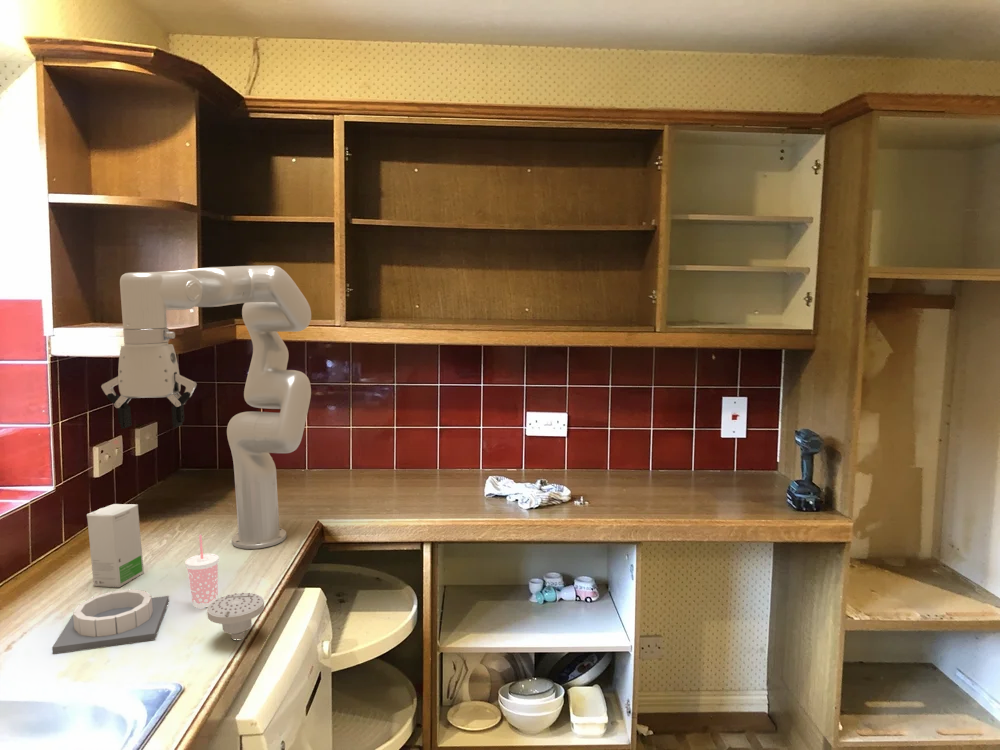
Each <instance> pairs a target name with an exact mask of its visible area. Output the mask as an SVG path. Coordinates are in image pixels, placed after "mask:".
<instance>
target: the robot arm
mask: <svg viewBox="0 0 1000 750" xmlns="http://www.w3.org/2000/svg"><path fill="white" fill-rule="evenodd" d="M119 287H120V288H119V290H120V301H121V302H120V303H121V316H122V317H121V318H122V329H123V330H122V331H123V345H121V346H120V350H119V358H118V369H117V371H118V375H117V376H116V377H114V378H111V379H110V380H108V381H107V382H104V383H102V384H101V386H100V387H101V389H102V391H103V393H104V394H105V395H106V399H107V400H109V401H110V402H111V403H112V404H113V405H114V407H115V408H116V409H117V419H118V423H119V425H120V429H126V428H129V427H131V426H132V424H133V423H132V421H133V420H132V411H131V410H132V409H131V406H130V405H128V404H129V402H130V401H131V400H132V399H141V398H142V399H145V398H147V399H148V398H149V399H150V398H152V399H153V398H156V399H157V398H166V399H168V400H169V402H171V404H173V406H172V407H171V420H172V427H173V428H178V427H181V426H183V423H184V422H185V406H184V405H186V404H187V402H188V400H190V399H191V397H192V396H193V393H194V391H195V389H196V388H197V385H198V384H197V382H196V381H193V380H192V379H189V378H187V377H185V376H184V375H181V374H180V369H179V363H178V358H177V354H176V350H175V346H174V344H171V343H170V344H169V342H170V340H172V339H175V338H176V332H175V331H171V330H169V328H168V322H167V321H168V320H167V311H186V310H189V309H193V308H194V307H197V308H214V307H223V306H230V305H237V304H243V305H242V309H241V315H242V317H241V318H242V320H243V323H244V326H245V327H246V330H247V331H248V335H249V336H250V339H251V343H252V356H251V361H250V365H249V368H248V373H247V377H246V381H245V386H244V389H243V390H244V391H243V398H244V401H245V402H246V404H247V405H249V406H250V407H253V408H258V409H271V410H280V411H279V412H272V411H271V412H269V411H243V412H239V413H237V414H235V415H234V416H232V417H231V418H230V420H229V422H228V423H227V426H226V427H227V428H226V436H227V441H228V445H229V448H230V451H231V456H232V461H233V462H232V463H233V472H234V489H235V490H234V491H235V503H236V519H237V533H236V534H234V535H233V536H232V537H231V543H232V546H234V547H236V548H238V549H244V550H253V549H254V550H255V549H264V548H269V547H272V546H275V545H278V544H280V543H282V542H284V541H285V540H286V539H287V530H285V529H284V528H281V527H280V515H279V498H278V481H277V468H276V463H275V461H274V460H273V457H272V456H271V454H291V453H293V452H294V451H297V449H298V448H299V446H300V444H301V442H302V439H303V435H304V431H305V428H306V421H307V417H308V413H309V408H310V404H311V403H310V402H311V398H312V388H311V381H310V379H309V377H308V376H307V375H306V373H304V372H302V371H300V370H295V369H287V368H288V363H289V350H288V346H287V345H286V343H285V342H284V340H283V339H282V337H281V336H280V334H279V333H278V332H282V333H283V332H287V333H289V332H290V333H291V332H292V333H296V332H301V331H304V330H306V329H308V326H310V323H311V321H312V311H311V310H312V309H311V306H310V303H309V302H308V300H307V298H306V297H305V295H304V294H303V292H302V291H301V289H300V288H299V287H298V285H297V284H296V282H295V280H293V278H292V277H291V276H290V275H289V274H288V273H287V271H286V270H284V269H283V268H281V267H280V266H278V265H235V266H234V265H233V266H209V267H200V268H199V267H198V268H190V269H184V270H183V269H181V270H168V271H166V270H165V271H147V272H146V271H145V272H142V271H139V272H136V271H135V272H125V273H124V274H122V275H121V276H120V279H119ZM115 386H118V392H119V394H118V393H116V392H115V389H114V387H115ZM181 386H184V387H185V389H184V392H183V393H182V394H181V393H180V392H181Z"/></svg>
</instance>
